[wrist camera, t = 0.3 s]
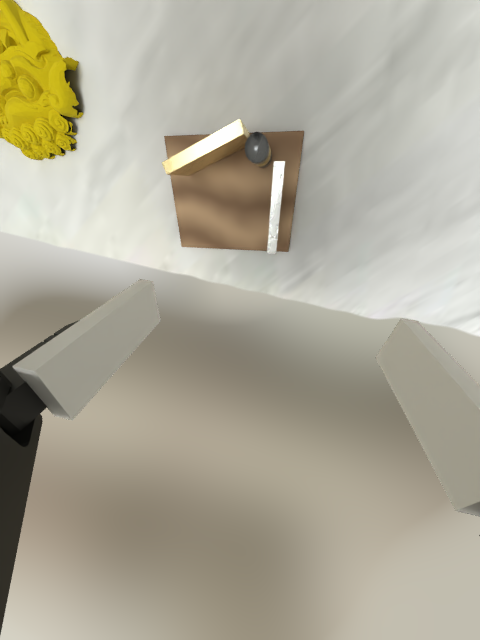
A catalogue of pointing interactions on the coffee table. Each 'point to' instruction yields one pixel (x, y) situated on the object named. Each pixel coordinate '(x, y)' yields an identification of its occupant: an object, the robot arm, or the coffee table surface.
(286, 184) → the walnut board
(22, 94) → the door knocker
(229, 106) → the coffee table surface
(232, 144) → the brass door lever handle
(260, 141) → the fixed leaf
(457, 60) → the coffee table surface
